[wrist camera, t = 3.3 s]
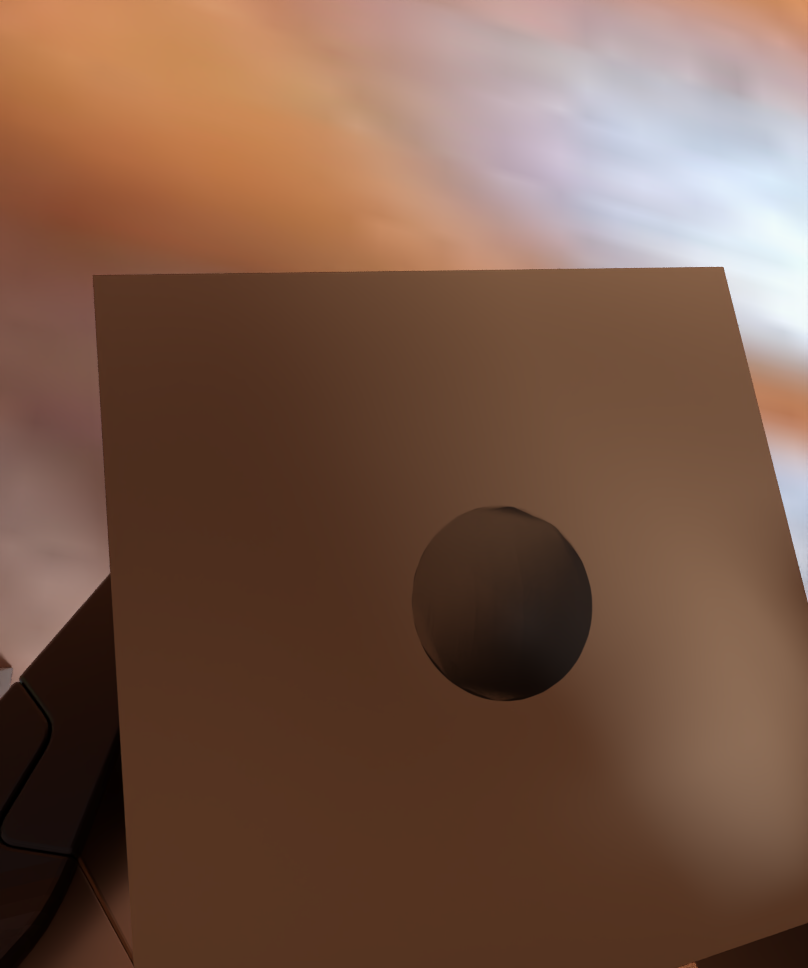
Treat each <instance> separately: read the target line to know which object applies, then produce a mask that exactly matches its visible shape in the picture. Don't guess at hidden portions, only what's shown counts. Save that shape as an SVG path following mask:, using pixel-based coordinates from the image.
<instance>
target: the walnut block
mask: <svg viewBox="0 0 808 968" xmlns="http://www.w3.org/2000/svg"><path fill="white" fill-rule="evenodd" d="M93 287H94V304H95V321H96V338H97V355H98V372H99V388H100V405H101V422H102V439H103V456H104V473H105V490H106V507H107V523H108V540H109V557H110V574H111V591H112V608H113V625H114V642H115V658H116V675H117V692H118V709H119V726H120V743H121V760H122V777H123V794H124V810H125V827H126V844H127V861H128V878H129V895H130V912H131V928H132V945H133V962H134V968H678V967H681V966H684V965H687V964H690V963H692V962H695V961H698V960H701V959H704V958H707V957H710V956H713V955H716V954H719V953H721V952H724V951H727V950H730V949H733V948H736V947H739V946H742V945H745V944H748V943H751V942H753V941H756V940H759V939H762V938H765V937H768V936H771V935H774V934H777V933H780V932H782V931H785V930H788V929H791V928H794V927H797V926H800V925H803V924H806V923H808V602H807V598H806V594H805V590H804V586H803V582H802V578H801V574H800V570H799V566H798V562H797V558H796V554H795V550H794V546H793V542H792V538H791V534H790V530H789V526H788V522H787V518H786V514H785V510H784V506H783V502H782V498H781V494H780V490H779V486H778V482H777V478H776V474H775V471H774V467H773V463H772V459H771V455H770V451H769V447H768V443H767V439H766V435H765V431H764V427H763V423H762V419H761V415H760V411H759V407H758V403H757V399H756V395H755V391H754V387H753V383H752V379H751V375H750V371H749V367H748V363H747V359H746V355H745V351H744V347H743V343H742V339H741V335H740V331H739V327H738V323H737V319H736V315H735V311H734V307H733V304H732V300H731V296H730V292H729V288H728V284H727V280H726V276H725V272H724V268H723V267H679V268H604V269H529V270H453V271H378V272H303V273H228V274H153V275H93Z"/></svg>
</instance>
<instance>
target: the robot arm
mask: <svg viewBox="0 0 808 968" xmlns="http://www.w3.org/2000/svg"><path fill="white" fill-rule="evenodd" d="M19 680H20V682H15V683H14V684H13V685H12V686H11V687H10V688H9V689H8V691H7V692H6V693H5V694H4V695H3V696H2V697H1V699H0V968H134V962H133V945H132V928H131V912H130V895H129V878H128V861H127V844H126V827H125V810H124V794H123V777H122V760H121V743H120V726H119V709H118V692H117V675H116V658H115V642H114V625H113V608H112V591H111V574H109V575H108V576H107V577H106V579H105V580H104V581H103V582H102V583H101V584H100V585H99V587H98V588H97V589H96V590H95V591H94V592H93V593H92V595H91V596H90V597H89V598H88V599H87V600H86V601H85V603H84V604H83V605H82V606H81V607H80V608H79V610H78V611H77V612H76V613H75V614H74V615H73V616H72V618H71V619H70V620H69V621H68V622H67V623H66V624H65V626H64V627H63V628H62V629H61V630H60V631H59V632H58V634H57V635H56V636H55V637H54V638H53V639H52V641H51V642H50V643H49V644H48V645H47V646H46V647H45V649H44V650H43V651H42V652H41V653H40V654H39V655H38V657H37V658H36V659H35V660H34V661H33V662H32V663H31V665H30V666H29V667H28V668H27V669H26V670H25V671H24V673H23V674H22V675H21V676H20V678H19ZM695 963H696V965H697V967H698V968H808V923H806V924H803V925H800V926H797V927H794V928H791V929H788V930H785V931H782V932H780V933H777V934H774V935H771V936H768V937H765V938H762V939H759V940H756V941H753V942H751V943H748V944H745V945H742V946H739V947H736V948H733V949H730V950H727V951H724V952H721V953H719V954H716V955H713V956H710V957H707V958H704V959H701V960H698V961H695Z"/></svg>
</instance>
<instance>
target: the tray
mask: <svg viewBox="0 0 808 968" xmlns="http://www.w3.org/2000/svg"><path fill="white" fill-rule="evenodd" d="M11 675H12V668H0V699H1V697H2V696H3V695H4V694H5V693H6V692H7V691H8V689H9V688H10V683H11Z"/></svg>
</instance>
